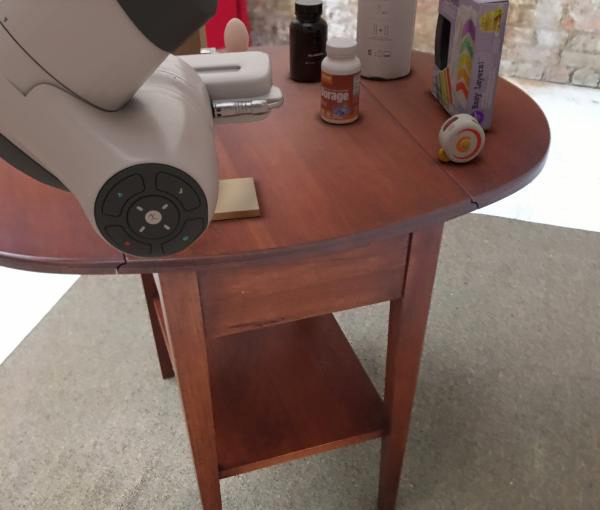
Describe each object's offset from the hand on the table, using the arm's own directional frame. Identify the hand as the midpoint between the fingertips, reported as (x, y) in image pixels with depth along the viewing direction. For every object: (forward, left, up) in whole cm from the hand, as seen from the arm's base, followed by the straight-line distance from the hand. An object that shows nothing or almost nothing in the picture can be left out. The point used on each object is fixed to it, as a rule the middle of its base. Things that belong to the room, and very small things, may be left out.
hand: (158, 59), depth 60 cm
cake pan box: (+45, +36, -21) cm, 61 cm away
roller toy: (+39, +19, -21) cm, 48 cm away
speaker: (+37, +57, -21) cm, 71 cm away
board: (0, +12, -21) cm, 24 cm away
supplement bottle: (+23, +57, -21) cm, 65 cm away
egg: (+11, +71, -21) cm, 75 cm away
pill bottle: (+25, +37, -21) cm, 50 cm away
